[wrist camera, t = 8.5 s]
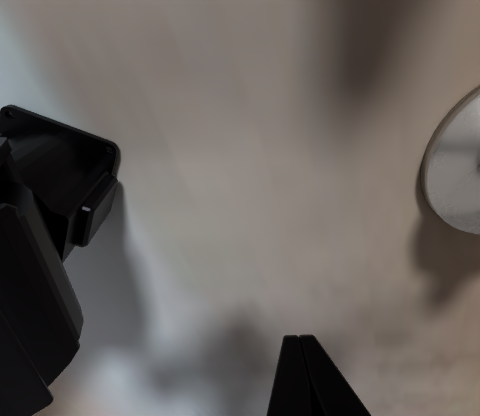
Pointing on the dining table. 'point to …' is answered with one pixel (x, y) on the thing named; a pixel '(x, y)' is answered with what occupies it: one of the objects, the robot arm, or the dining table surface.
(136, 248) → the dining table surface
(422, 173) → the pipe stand
